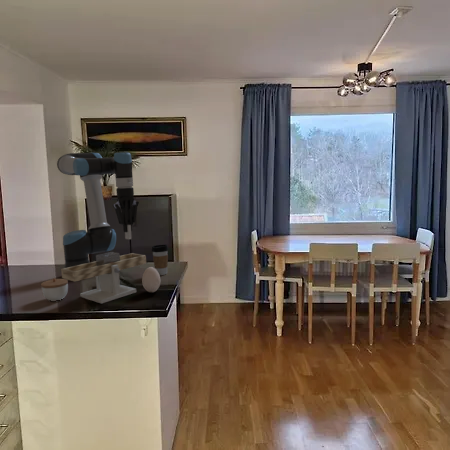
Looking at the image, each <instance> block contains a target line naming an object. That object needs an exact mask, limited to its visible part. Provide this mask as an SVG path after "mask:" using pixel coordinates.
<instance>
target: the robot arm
mask: <svg viewBox="0 0 450 450" xmlns="http://www.w3.org/2000/svg"><path fill="white" fill-rule="evenodd" d="M132 162H133V160H132V154H131V153H130V152H127V151H126V152H115V153H114V154H113V156H111V157H102V155H101V153H98V152H78V153H77V152H71V153H65V154H63V155H61V156H60V157H58V159H57V162H56V167H57V170H58V171H59V172H60V173H62V174H65V175H67V176H79V178H80V180H81V181H82V183H83V184H84V191H85V197H86V204H87V209H88V210H87V212H88V217H89V223H90V225H89V227H88V231H87V230H86V229H79V230H78V229H77V230H73V231H69V232H67V233H65V234H64V235H63V236H62V245H63V254H64V267H63V268H68V267H72V266H77V265H81V264H86V263H90V257H89V255H92V254H98V253H99V254H100V253H107V252H109V251H110V252H111V251H113V250H114V249H115V247H116V243H117V233H116V230H115V229H114V228H112V227H111V225H110V224H109V223H108V221H107V214H106V209H105V201H104V195H103V190H102V182H101V180H102V178H103V175H114V176H115V177H114V178H115V187H117V188H116V196H117V199H116V202H115V203H113V204H112V207H113V208H114V211H115V214H116V217H117V221H118V224H119V225H122V226H123V228H122V229H123V232H124V238H125V240H132V231H133V225H134V223H136V221H137V220H136V219H137V213H138V211H137V210H138V206H139V205H140V204H139V201H136V200H135V197H134V195H135V191H134V178H133V163H132Z"/></svg>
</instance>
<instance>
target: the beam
mask: <svg viewBox="0 0 450 450" xmlns="http://www.w3.org/2000/svg"><path fill="white" fill-rule="evenodd" d="M89 262H90V261H89ZM145 264H147V256H146V254H140V253H134V252H131V253H128V254H127V253H126V254H123V255H120V261H117V262H111V263H108V264H104V265H100V266H97V263H96V261H95V260H94V261H91V262H90V263H86V264H81V265H77V266H72V267H68V268H64V267H63V268H61V269H60V271H61V272H60V273H61V279H66V280H68V281H71V282H79V281H83V280H86V279H92V278H94V277H95V278H96V276H99V275H103V274H107V273H111V272H112V269H111V266H113V265H118V268H119V270H120V271H122V270H126V269H130V268H133V267H137V266H141V265H145Z"/></svg>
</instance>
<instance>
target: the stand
mask: <svg viewBox="0 0 450 450" xmlns="http://www.w3.org/2000/svg"><path fill="white" fill-rule="evenodd" d="M111 269H112V272H111V273H107V274H103V275H99V276H95V283H96V284H95V285H96V288H94V289H91V290H87V291H84V292H80V298H83V299H86V300H90V301H93V302H96V303H99V304H105V303H108V302H111V301H113V300H117V299H119V298H122V297H126V296H129V295H131V294H132V295H133V294H135V293H137V288H135V287H131V286H127V285H122V284H120V271H121V270H119V268H118V265H113V266H111Z"/></svg>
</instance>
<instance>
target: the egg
mask: <svg viewBox="0 0 450 450" xmlns="http://www.w3.org/2000/svg"><path fill="white" fill-rule="evenodd" d="M141 281H142V282H141V284H142V286H143V288H144V289H145V291H147V292H148V293H155V292H156V291H157V290H158V289H159V288H160V286H161V275H159V273H158V271H157V270H156V269H155V267H153V266H150V267H147V268H146V269H145V270H144V272H143V274H142V277H141Z"/></svg>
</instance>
